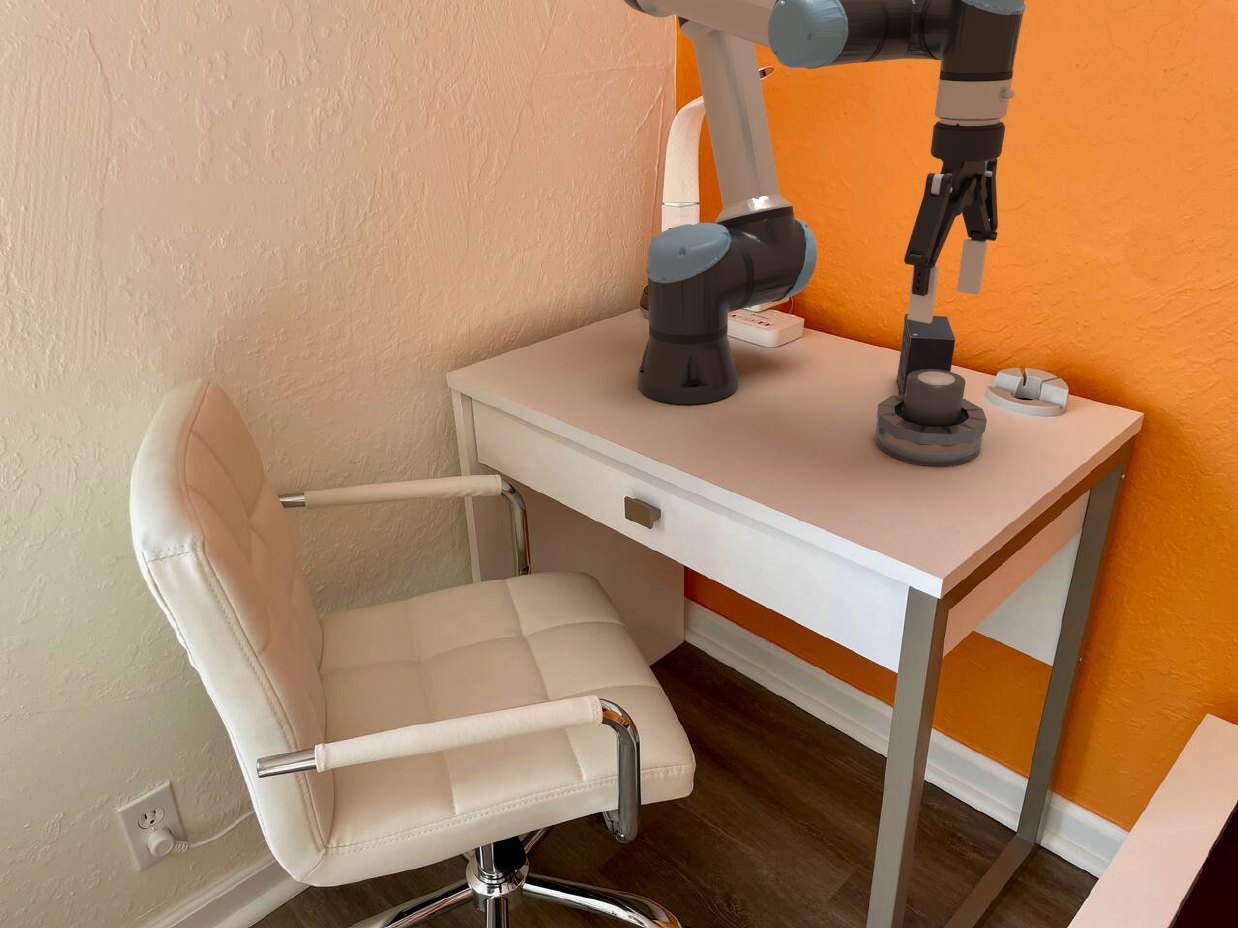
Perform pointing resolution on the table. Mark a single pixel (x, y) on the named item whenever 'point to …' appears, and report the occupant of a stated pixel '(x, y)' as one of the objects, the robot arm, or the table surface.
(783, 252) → the robot arm
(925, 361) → the small box
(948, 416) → the cap
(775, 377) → the table surface
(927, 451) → the faceted ashtray
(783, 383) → the table surface
